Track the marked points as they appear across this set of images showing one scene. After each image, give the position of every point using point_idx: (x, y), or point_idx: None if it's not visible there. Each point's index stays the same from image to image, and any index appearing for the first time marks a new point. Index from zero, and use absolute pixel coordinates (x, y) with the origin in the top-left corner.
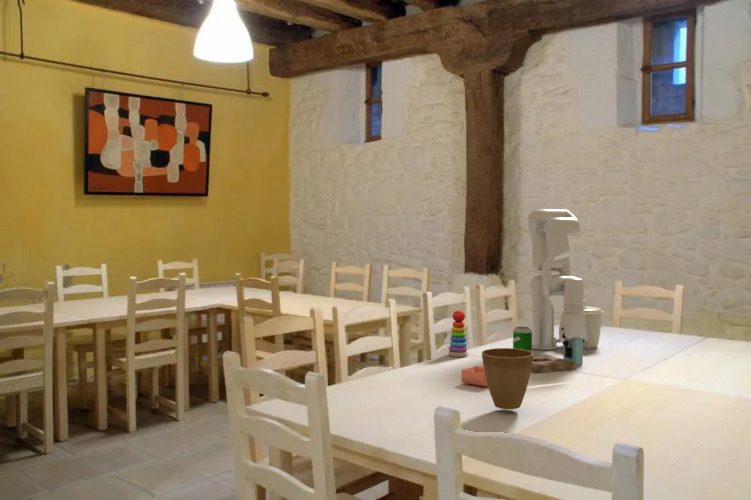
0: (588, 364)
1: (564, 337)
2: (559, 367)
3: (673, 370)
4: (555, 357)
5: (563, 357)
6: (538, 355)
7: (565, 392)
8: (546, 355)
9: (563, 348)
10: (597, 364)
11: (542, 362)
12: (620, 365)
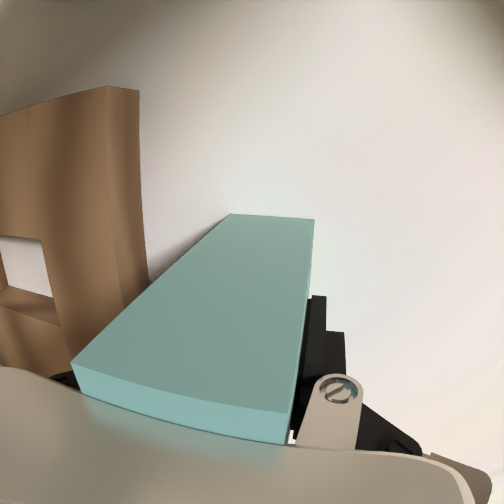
0: (361, 360)
1: (70, 398)
2: None
3: (498, 501)
4: (105, 254)
5: (216, 227)
6: (38, 123)
7: None
8: (83, 141)
9: (175, 262)
10: (413, 381)
11: (5, 325)
12: (478, 430)
